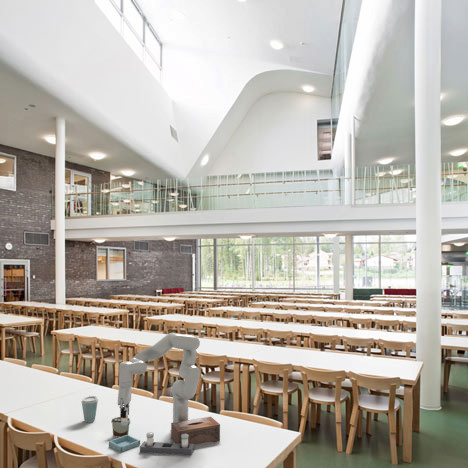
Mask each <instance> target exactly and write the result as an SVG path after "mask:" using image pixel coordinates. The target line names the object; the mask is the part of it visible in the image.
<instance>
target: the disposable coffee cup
mask: <svg viewBox="0 0 468 468" xmlns="http://www.w3.org/2000/svg"><path fill="white" fill-rule="evenodd" d="M98 401H99V398H98V397H97V396H96V395H91V396H90V395H89V396H86V397H84V398H82V400H81V406H82V413H83V420H84V422H85V423H87V422H88V423H93V422H95V420H96V416H97V408H98Z"/></svg>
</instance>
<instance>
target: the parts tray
mask: <svg viewBox="0 0 468 468" xmlns="http://www.w3.org/2000/svg"><path fill="white" fill-rule="evenodd" d="M140 446H141V440H140V439H138V438H135V437H134V436H132V435H130V434H128V435H125V436H122V437H117V438H114V439H111V440H109V441H108V448H113V449H114V450H116V451H118V452H120V453H122V452H125V451H128V450H131V449H133V448H137V447H140Z"/></svg>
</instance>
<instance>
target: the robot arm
mask: <svg viewBox="0 0 468 468" xmlns="http://www.w3.org/2000/svg"><path fill="white" fill-rule="evenodd" d="M200 343H201V342H200V339H199V338H198V337H197V336H194V335H191V334H185V333H184V334H178V333H174V332H169V333H168V334H166V335H165V336H164V337H162V338H161V339H160V340H158V341H157V342H156V343H155V344H154V345H152V346H149V347H147V348H145V349H143V350H141V351H140V352H138V353H136V354H135V355H134V356H133V357H132V358H131V359H130V360H129V361H127V360H126V361H122V362H120V363H119V366H118V367H119V368H118V369H119V373H118V393H117V394H118V395H117V406H118V407H119V409H120V415H119V417H121V418H126V407H128V416H129V415H130V403H131V401H132V387H133V375H142V374H144V373H145V372H147V369H148V365H147V363H146V362H149V361H150V360H155V359H160V358H162V357H163V356H165V355H166V354H167V353H169V351H171V350H172V349H173V348H175V349H177V350H183V356H182V360H181V363H180V366H179V370H178V375H179V376H180V377H181V378H182V379H184V380H182V379H177V380H175V381H174V382H173V384H172V386H171V393H172V402H173V403H172V423H174V422H180V421H186V420H189V400H192V399H193V398H194V396H195V394H196V392H197V387H198V385H199V381H200V377H201V370H200V368H199V367H198V366H197V365H195V364H196V360H197V355H198V354H197V350H198V349H199V346H200V345H201V344H200ZM170 433H171V429H170Z"/></svg>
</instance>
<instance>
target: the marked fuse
mask: <svg viewBox="0 0 468 468" xmlns="http://www.w3.org/2000/svg"><path fill="white" fill-rule="evenodd" d="M128 418H129V415H128V407H126V418H121V425H122V426H126V425H128Z"/></svg>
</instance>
